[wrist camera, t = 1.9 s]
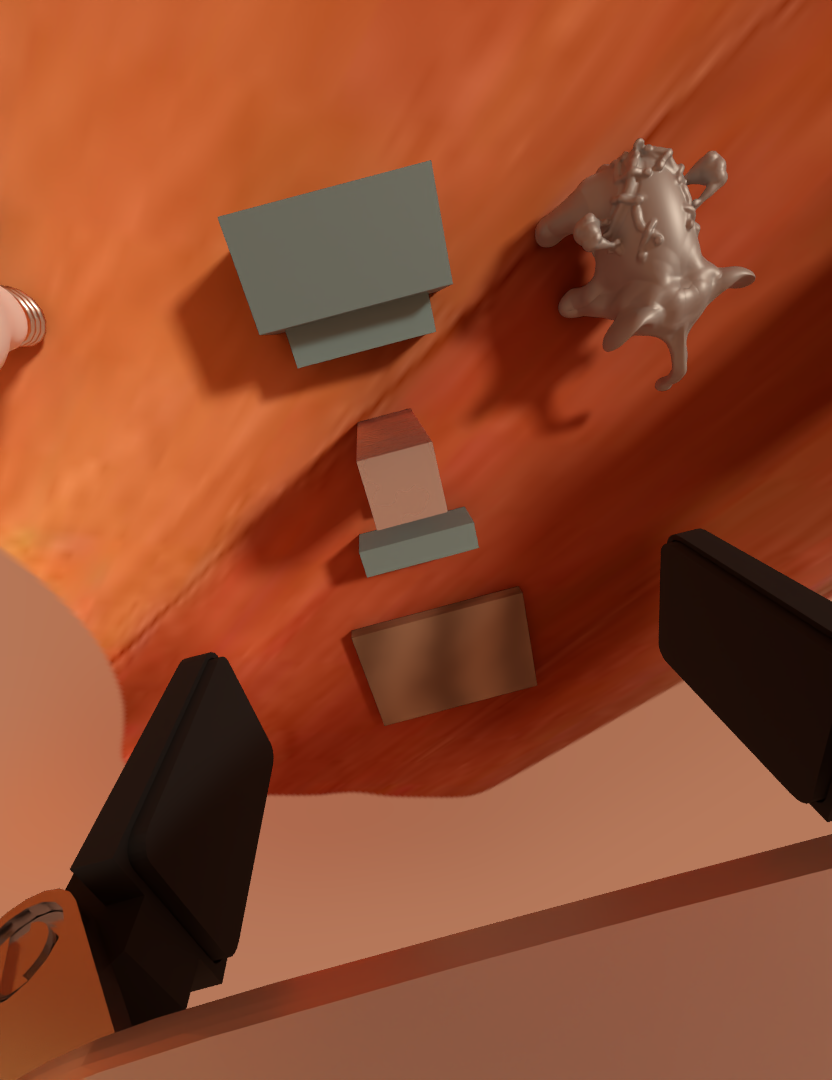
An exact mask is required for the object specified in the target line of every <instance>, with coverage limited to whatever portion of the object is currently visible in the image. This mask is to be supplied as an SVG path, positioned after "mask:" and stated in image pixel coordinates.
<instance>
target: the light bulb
mask: <svg viewBox="0 0 832 1080" xmlns="http://www.w3.org/2000/svg"><path fill="white" fill-rule="evenodd" d="M45 334H46V319H45V317H44V314H43V311H42V310H41V308H40V307H39V306H38V304H37V303H36V302H35V301H34V300H33V299H32V298H31V297H30V296H28V295H27V294H25V293H24V292H22V291H21V290H19V289H15V288H12V287H9V286H3V285H0V369H1V368H2V366H3V365H4V363H5V361H6V358H7V355H8V352H9V351H12V350H14V349H16V348H18V347H31V346H35V345H36V344H38V343H39V342H41V341H42V340H43V338H44V336H45Z"/></svg>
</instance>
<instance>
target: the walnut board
mask: <svg viewBox="0 0 832 1080" xmlns="http://www.w3.org/2000/svg"><path fill="white" fill-rule="evenodd" d="M352 641H353V644H354V646H355V649H356V651H357V654H358V657H359V659H360V662H361V665H362V667H363V670H364V673H365V675H366V678H367V681H368V683H369V686H370V689H371V691H372V694H373V697H374V699H375V702H376V704H377V707H378V710H379V712H380V715H381V718H382V720H383V723H384V726H386V725H390V724H394V723H397V722H401V721H405V720H409V719H413V718H416V717H420V716H424V715H428V714H431V713H435V712H439V711H443V710H446V709H450V708H454V707H458V706H462V705H465V704H469V703H473V702H477V701H480V700H484V699H488V698H492V697H495V696H499V695H503V694H507V693H511V692H514V691H518V690H522V689H526V688H529V687H533V686H537V681H536V674H535V668H534V662H533V655H532V649H531V643H530V636H529V630H528V624H527V617H526V611H525V605H524V598H523V593H522V591H521V589H520V588H519V586H518V587H514V588H510V589H507V590H503V591H499V592H495V593H492V594H488V595H484V596H480V597H476V598H473V599H469V600H465V601H461V602H458V603H454V604H450V605H446V606H443V607H439V608H435V609H431V610H428V611H424V612H420V613H416V614H412V615H409V616H405V617H401V618H397V619H394V620H390V621H386V622H382V623H379V624H375V625H371V626H367V627H363V628H360V629H356V630H352Z"/></svg>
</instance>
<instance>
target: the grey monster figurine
mask: <svg viewBox="0 0 832 1080" xmlns="http://www.w3.org/2000/svg"><path fill="white" fill-rule="evenodd" d="M672 154H673V151H672V149H671V148H663V147H656V146H652V145H650V144H648V145H646V146H645V145H644V140H643V139H642V138H639V139H637V140H636V141H635V143H634V145H633V149H632V150H631V152H629V153H628V152H624V153H623V154H622V155H621V156H620V157H619V158H618V159H617V160H614V161H613V162H612V163H611V164H605V165H602V166H601V167H600V168H599V169H598V170H597V172H596V174H594V175H592V176H590V177H588V178H586V179H585V180H583V181H582V182H581V183H580V184H579V186H578V187H577V189H576V190H575V191H574V192H573V193H572V194H571V195H570V196H569V197H568V198H567V199H566V200H565V201H563V202H562V203H561V204H560V205H559V206H558V207H556V208H555V209H554V210H553V211H552V212H551V213H549V214H548V215H546V216H545V217H543V218H542V219H541V220H540V221H539V223H538V224H537V227H536V230H535V239H536V242H537V243H538V244H539V245H540V246H542V247H552V246H554V245H556V244H557V243H558V242H560V241H561V240H562V239H563V238H564V237H566V236H568V235H570V234H573V235H574V240H575V241H576V242H577V243H578V244H579V245H581V246H582V247H583V249H584V250H585V251H587V252H592V254H593V256H594V257H595V261H596V267H595V274H594V277H593V279H592V280H591V281H590V282H589V283H588V284H587V285H585V286H583V287H580V288H572V289H570V290H569V291H568V292H567V293H566V294H565V295H564V296H563V297H562V299H561V300H560V303H559V306H558V309H559V313H560V314H561V315H562V316H563V317H566V318H576V317H581V316H589V317H601V318H606V319H610V320H614V322H613V324H612V325H611V326H610V328H609V329H608V331H607V333H606V335H605V337H604V339H603V349H604V350H605V351H607V352H609V351H613V350H615V349H617V348H618V347H620V346H621V345H623V344H624V343H625V342H626V341H627V340H628V339H629V338H630V337H631V336H634V335H642V336H654V337H657V338H660V339H661V340H663V341H664V342H665V343H666V344H667V346H668V348H669V351H670V354H671V360H672V370H671V372H670V373H669V375H668V376H665V377H662V378H660V379H658V380H657V381H656V383H655V388H656V389H657V390H659V391H666V390H668V389H670V388H671V386H672V384H675V383H677V382H678V381H680V380H681V378H682V377H683V376H684V375H685V374H686V371H687V347H686V340H687V336H688V333H689V331H690V329H691V328H692V326H693V325H694V323H695V322H696V321H697V319H698V318H699V317H700V315H701V314H702V313H703V311H704V309H705V308H706V306H707V305H708V304H709V303H710V302H712V301H713V300H714V299H715V298H716V297H717V296H719V295H720V294H721V293H722V292H723V291H725V290H726V289H728V288H742V287H746V286H748V285H750V284H752V283H753V282H754V281H755V275H754V273H753V272H752V271H750V270H749V269H746V268H743V267H737V266H733V267H725V268H718V267H716V266H715V265H714V264H712V263H711V262H709V261H707V260H706V259H705V258H704V257H703V256H702V255H701V249H700V245H699V241H698V234H699V231H700V225H699V224H698V223H696V222H695V217H696V213H695V211H696V209H697V208H698V207H699V206H700V205H701V204H702V203H703V202H704V201H705V200H706V199H708V198H709V197H710V196H712V195H713V194H714V193H715V192H716V191H717V190H718V189H719V188H721V187H722V186H723V185H724V184H725V183H726V181H727V178H728V175H727V172H726V161H725V160H724V158H722V157H721V156H720V155H719V154H718V153H717V152H716V151H709V152H708V153H706V155H705V156H703V157H702V158H701V159H700V160H699V161H698V162H697V163H696V164H695V165H694V166H693V167H692V168H691V169H690V171H689V172H688V173H687V174H686V175H685V176H684V175H683V171H684V168H685V166H684V165H683V164H679V165H677V164H676V163H675V161H674V159H673V157H672ZM689 184H700V185H705V186H706V189H705V190H704V192H703V193H702V195H701V196H700V197H699V198H698V199H695V200H693V201H692V198H691V195H690V192H689V189H688V187H687V185H689Z"/></svg>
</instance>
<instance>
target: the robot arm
mask: <svg viewBox="0 0 832 1080" xmlns="http://www.w3.org/2000/svg"><path fill="white" fill-rule="evenodd" d="M659 648H660V652H661V654H662V656H663V658H664V659H665V661H666V662H667V663H668V664H669V665H670V666H671V667H672V668H673V669H674V670H675V671H676V673H677V674H678V675H679V676H680V677H681V678H682V679H683V680H684V681H685V682H686V683H687V684H688V685H689V686H690V687H691V688H692V690H693V691H694V692H695V693H696V694H697V695H698V696H699V697H700V698H701V699H702V700H703V701H704V702H705V703H706V704H707V705H708V706H709V708H711V710H713V712H714V713H715V714H716V715H717V716H718V717H719V718H720V719H721V720H722V721H723V722H724V723H725V724H726V726H728V728H729V729H730V730H731V731H732V732H733V733H734V734H735V735H736V736H737V737H738V738H739V739H740V740H741V741H742V742H743V743H744V744H745V746H746V747H747V748H748V749H749V750H750V751H751V752H752V753H753V754H754V755H755V756H756V757H757V758H758V759H759V760H760V762H761V763H762V764H763V765H764V766H765V767H766V768H767V769H768V770H769V771H770V772H771V773H772V774H773V775H774V776H775V777H776V779H777V780H778V781H779V782H781V784H782V785H783V786H784V787H785V788H786V789H787V790H788V791H789V792H790V793H791V794H792V795H793V796H794V797H795V798H796V799H797V800H799V801H800V802H803V803H806V804H807V803H809V804H810V805H811V806H812V807H813V808H814V809H815V810H816V811H817V812H818V813H819V814H820V815H821V816H822V817H823V818H824V819H825V820H826V821H827V822H830V821H832V602H831V601H830V600H828V599H826V598H824V597H823V596H821V595H819V594H817V593H815V592H814V591H812V590H810V589H808V588H807V587H805V586H803V585H801V584H800V583H798V582H796V581H794V580H792V579H791V578H789V577H787V576H785V575H784V574H782V573H780V572H778V571H777V570H775V569H773V568H771V567H769V566H768V565H766V564H764V563H762V562H761V561H759V560H757V559H755V558H754V557H752V556H750V555H748V554H746V553H745V552H743V551H741V550H739V549H738V548H736V547H734V546H732V545H730V544H729V543H727V542H725V541H723V540H722V539H720V538H718V537H716V536H715V535H713V534H711V533H709V532H707V531H706V530H703V529H694V530H690V531H687V532H683V533H679V534H675V535H672V536H670V537H669V539H668V541H667V544H664V545H663V546H662V548H661V569H660V611H659ZM272 766H273V749H272V746H271V743H270V741H269V739H268V737H267V736H266V734H265V732H264V730H263V728H262V726H261V724H260V722H259V720H258V718H257V716H256V714H255V712H254V710H253V708H252V706H251V704H250V703H249V701H248V699H247V697H246V695H245V693H244V691H243V689H242V687H241V685H240V683H239V681H238V679H237V677H236V675H235V673H234V671H233V670H232V668H231V666H230V664H229V662H228V660H227V659H226V658H225V657H218V656H217V655H216V654H215V653H212V652H210V653H206V654H202V655H198V656H194V657H190V658H186V659H184V660H182V661H181V663H180V664H179V666H178V668H177V669H176V671H175V673H174V675H173V677H172V679H171V681H170V683H169V684H168V686H167V688H166V690H165V692H164V694H163V696H162V698H161V699H160V701H159V703H158V705H157V707H156V709H155V711H154V713H153V714H152V716H151V718H150V720H149V722H148V724H147V726H146V728H145V729H144V731H143V733H142V735H141V737H140V739H139V741H138V743H137V744H136V746H135V748H134V750H133V752H132V754H131V756H130V758H129V759H128V761H127V763H126V765H125V767H124V769H123V771H122V773H121V774H120V776H119V778H118V780H117V782H116V784H115V786H114V788H113V789H112V791H111V793H110V795H109V797H108V799H107V801H106V803H105V804H104V806H103V808H102V810H101V812H100V814H99V816H98V818H97V819H96V821H95V823H94V825H93V827H92V829H91V831H90V833H89V834H88V836H87V838H86V840H85V842H84V844H83V846H82V848H81V849H80V851H79V853H78V855H77V857H76V859H75V861H74V863H73V865H72V866H71V868H70V870H71V871H72V872H73V873H74V874H73V876H72V878H71V880H70V882H69V884H68V886H67V888H66V890H62V889H54V890H48V891H44V892H41V893H39V894H37V895H35V896H33V897H31V898H28V899H26V900H25V901H23V902H22V903H20V904H19V905H17V906H16V907H15V908H13V909H12V910H10V911H9V912H7V913H6V914H5V915H4V916H3V917H2V918H1V919H0V1080H832V834H831V835H827V836H823V837H819V838H815V839H811V840H808V841H804V842H800V843H796V844H792V845H789V846H785V847H781V848H777V849H773V850H769V851H765V852H762V853H758V854H754V855H750V856H746V857H743V858H739V859H735V860H731V861H727V862H723V863H720V864H716V865H712V866H708V867H705V868H700V869H697V870H693V871H689V872H685V873H681V874H677V875H674V876H670V877H666V878H662V879H658V880H654V881H651V882H647V883H643V884H639V885H636V886H632V887H629V888H624V889H621V890H617V891H613V892H609V893H606V894H602V895H598V896H594V897H591V898H587V899H583V900H579V901H576V902H572V903H568V904H564V905H561V906H557V907H553V908H550V909H546V910H542V911H539V912H535V913H531V914H527V915H523V916H520V917H516V918H513V919H508V920H505V921H501V922H497V923H493V924H490V925H486V926H482V927H479V928H475V929H471V930H468V931H464V932H460V933H456V934H452V935H449V936H445V937H441V938H438V939H434V940H430V941H427V942H424V943H420V944H416V945H412V946H409V947H405V948H401V949H398V950H394V951H390V952H387V953H383V954H379V955H376V956H372V957H368V958H365V959H361V960H357V961H354V962H350V963H346V964H343V965H339V966H335V967H332V968H328V969H324V970H321V971H317V972H313V973H310V974H306V975H302V976H299V977H295V978H292V979H288V980H284V981H281V982H277V983H273V984H270V985H266V986H263V987H260V988H256V989H253V990H250V991H246V992H243V993H240V994H236V995H233V996H229V997H226V998H223V999H219V1000H216V1001H212V1002H209V1003H206V1004H202V1005H199V1006H196V1007H192V1008H189V1009H186V1008H187V1003H188V1000H189V996H190V992H192V991H196V990H200V989H203V988H207V987H211V986H214V985H218V984H222V982H223V976H224V971H225V967H226V961H227V958H228V957H231V956H233V954H234V953H235V951H236V949H237V946H238V942H239V938H240V932H241V927H242V922H243V917H244V912H245V907H246V901H247V896H248V891H249V886H250V881H251V875H252V870H253V865H254V860H255V855H256V849H257V844H258V839H259V833H260V829H261V824H262V818H263V813H264V808H265V803H266V798H267V792H268V787H269V782H270V777H271V772H272Z"/></svg>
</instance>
